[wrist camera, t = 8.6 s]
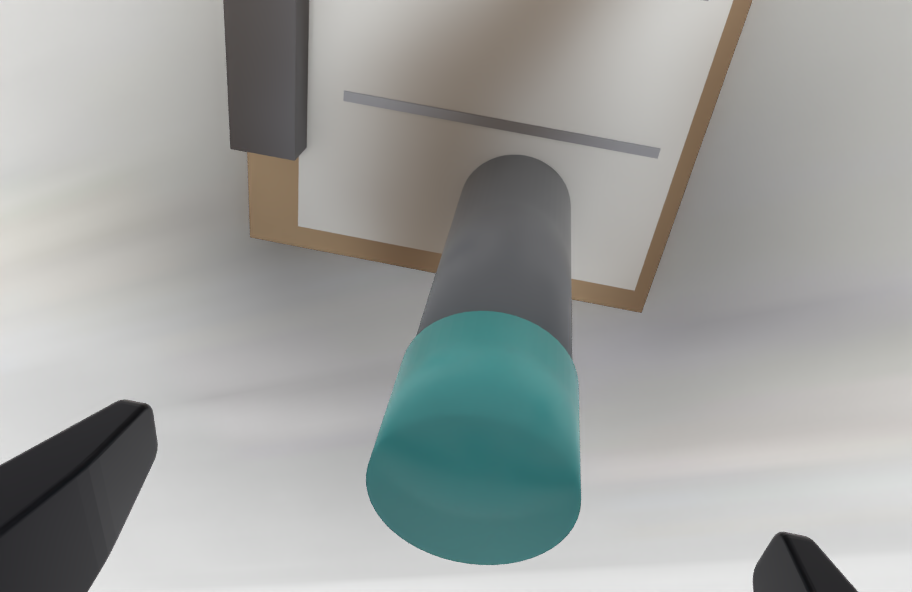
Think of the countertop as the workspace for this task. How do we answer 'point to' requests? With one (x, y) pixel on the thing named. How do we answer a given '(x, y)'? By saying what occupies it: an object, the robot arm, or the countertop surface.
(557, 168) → the clipboard
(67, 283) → the countertop surface
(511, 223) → the marker
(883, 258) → the countertop surface
